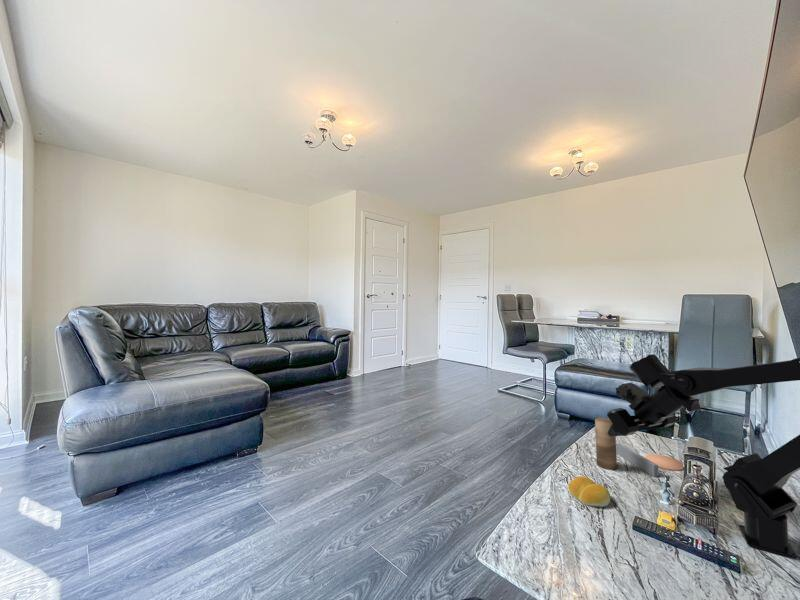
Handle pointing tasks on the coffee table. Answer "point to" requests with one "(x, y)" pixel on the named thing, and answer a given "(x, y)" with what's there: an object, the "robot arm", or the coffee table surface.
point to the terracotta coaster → (665, 462)
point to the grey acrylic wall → (637, 460)
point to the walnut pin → (605, 444)
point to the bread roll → (589, 492)
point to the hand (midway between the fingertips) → (621, 432)
